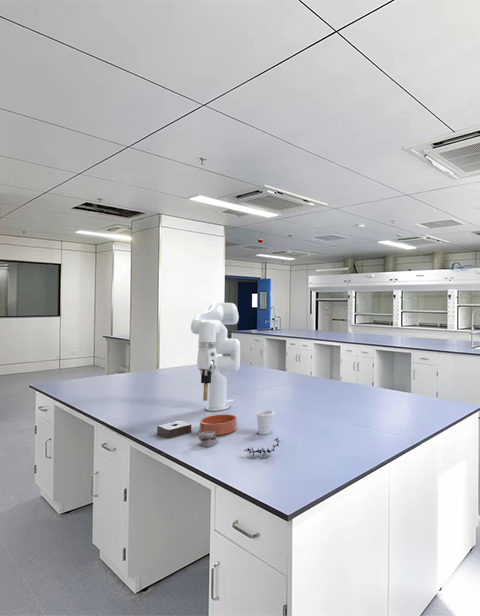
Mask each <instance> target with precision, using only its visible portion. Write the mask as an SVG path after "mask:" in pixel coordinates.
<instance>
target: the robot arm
mask: <svg viewBox="0 0 480 616" xmlns="http://www.w3.org/2000/svg"><path fill="white" fill-rule="evenodd" d="M239 318H240V315H239V311H238V307H237V305H236V304H235V303H234V302H213V303H212V304H210V305H209V307H208V309H207V310H206V311H204V312H202V313H198V314H196V315H195V316H194V317H193V319H192V321H191V323H190V331H191V333H192V334H194V335H198V344H197V345H198V346H197V347H198V350H197V360H196V364H197V365H196V366H197V369H198V370H199V372H200V383H201V384H203V385H204V384H208V405H207V406H206V407H205V410H206V411H210V412H219V411H224V410H228V409H229V408H230V405H229V404H232V403H234V399H233V398H232V399H227V389H228V378H227V377H226V375H225V374H224V373H235V372H238V371H239V370H240V367H241V341H240V340H239V339H238V338H229V337H228V328H227V327H226V326H225V325H236V324H238V323H239ZM226 355H227V356H226ZM229 355H230V356H229ZM204 372H205V376H204Z"/></svg>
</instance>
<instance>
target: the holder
mask: <svg viewBox="0 0 480 616" xmlns="http://www.w3.org/2000/svg"><path fill="white" fill-rule="evenodd" d="M156 427H157V428H156V435H159V436H161V437H163V438H166V439H173V438H176V437H179V436H183V435H186V434H191V433H192V424H191V423H188V422H185V421H182V420H176V421H172V422H168V423H163V424H158V425H157V426H156Z"/></svg>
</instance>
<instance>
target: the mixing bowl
mask: <svg viewBox="0 0 480 616" xmlns="http://www.w3.org/2000/svg"><path fill="white" fill-rule="evenodd" d="M237 421H238V417H237V416H236V415H234V414H227V413H226V414H224V413H223V414H222V413H221V414H214V415H209V416H205V417H203V418H201V419H200V420H199V429H198V430H199V433H201V432H205V431H215V434H216V437H217V436H224V435H225V436H226V435H228V434H231V433H233V432H235V431H236V430H237V428H238V427H237V424H238V423H237ZM213 436H214V435H213Z"/></svg>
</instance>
